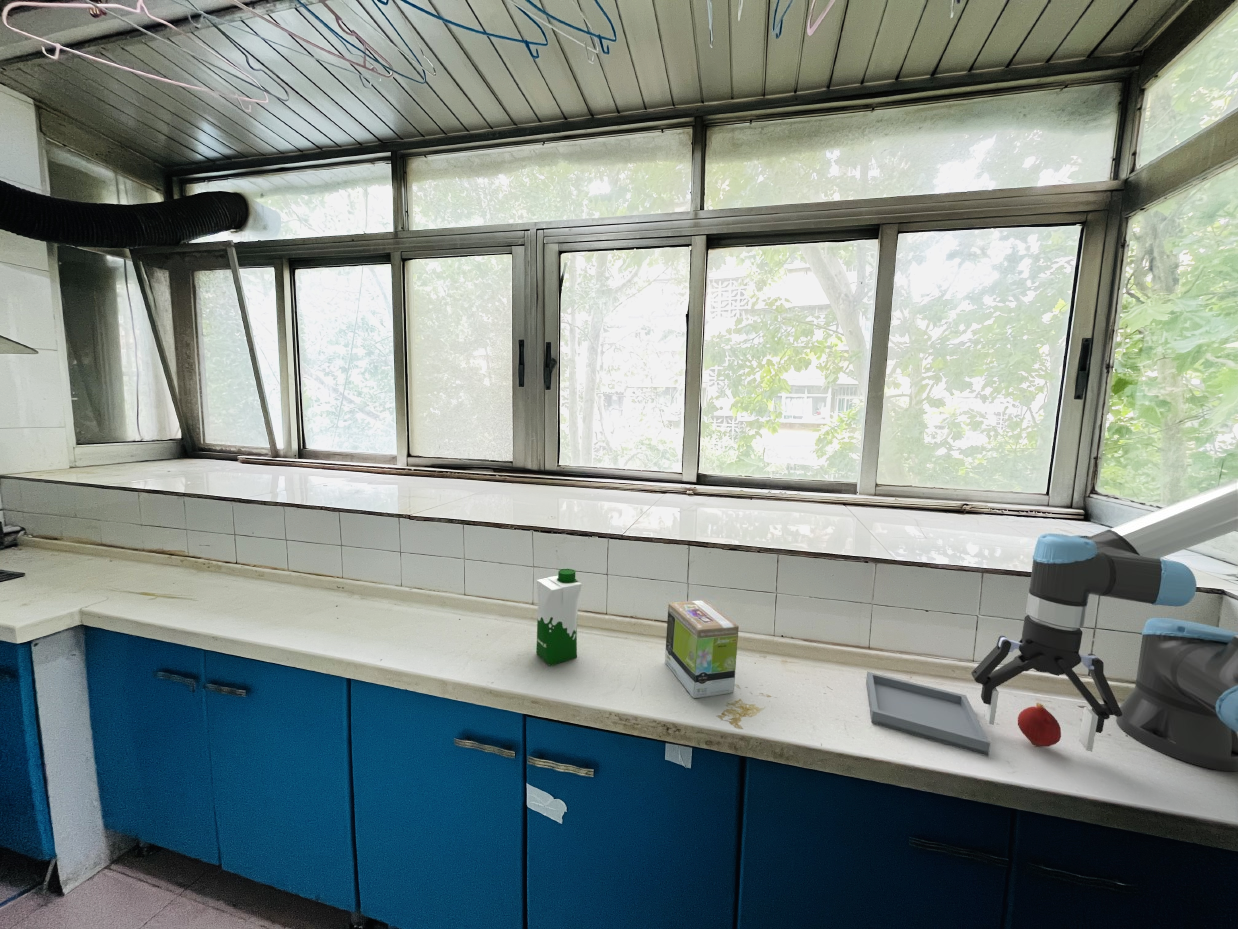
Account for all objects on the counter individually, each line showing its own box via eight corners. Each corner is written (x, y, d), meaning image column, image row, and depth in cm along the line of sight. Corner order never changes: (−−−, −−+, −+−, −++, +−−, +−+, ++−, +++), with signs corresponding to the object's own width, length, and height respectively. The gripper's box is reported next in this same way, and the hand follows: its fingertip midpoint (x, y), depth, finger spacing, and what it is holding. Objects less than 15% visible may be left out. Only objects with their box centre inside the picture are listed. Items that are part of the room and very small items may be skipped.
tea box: (735, 693, 95) (740, 625, 94) (692, 700, 92) (697, 630, 90) (701, 657, 109) (705, 597, 108) (663, 662, 106) (666, 601, 105)
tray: (964, 706, 94) (965, 695, 93) (988, 756, 79) (990, 743, 79) (866, 682, 101) (867, 671, 101) (871, 723, 87) (872, 711, 87)
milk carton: (582, 658, 106) (585, 575, 104) (547, 669, 101) (550, 582, 99) (563, 642, 113) (566, 564, 111) (530, 652, 108) (532, 570, 106)
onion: (1057, 745, 83) (1063, 704, 82) (1059, 762, 79) (1065, 719, 78) (1015, 730, 87) (1020, 691, 86) (1014, 745, 82) (1020, 704, 82)
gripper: (1137, 630, 79) (1117, 744, 81) (962, 599, 89) (948, 700, 91) (1165, 649, 72) (1143, 773, 74) (972, 612, 82) (957, 721, 84)
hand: (1035, 733), depth 83 cm, fingers open, 13 cm apart
